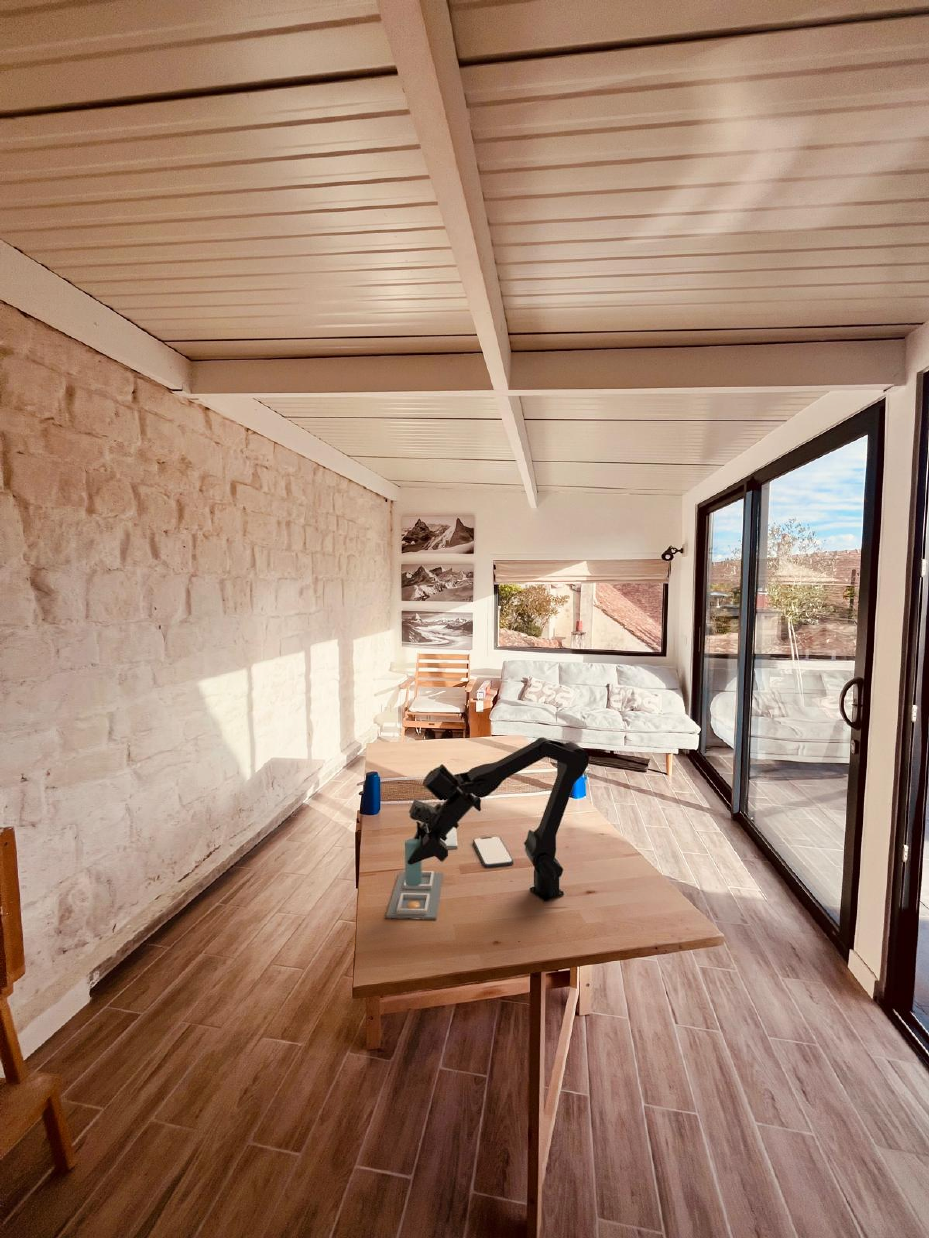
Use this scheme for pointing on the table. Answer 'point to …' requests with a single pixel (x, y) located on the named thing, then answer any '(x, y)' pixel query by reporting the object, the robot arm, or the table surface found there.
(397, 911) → the pin board
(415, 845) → the pin
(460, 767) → the table surface
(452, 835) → the hard drive
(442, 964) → the table surface
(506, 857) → the white smartphone
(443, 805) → the robot arm
